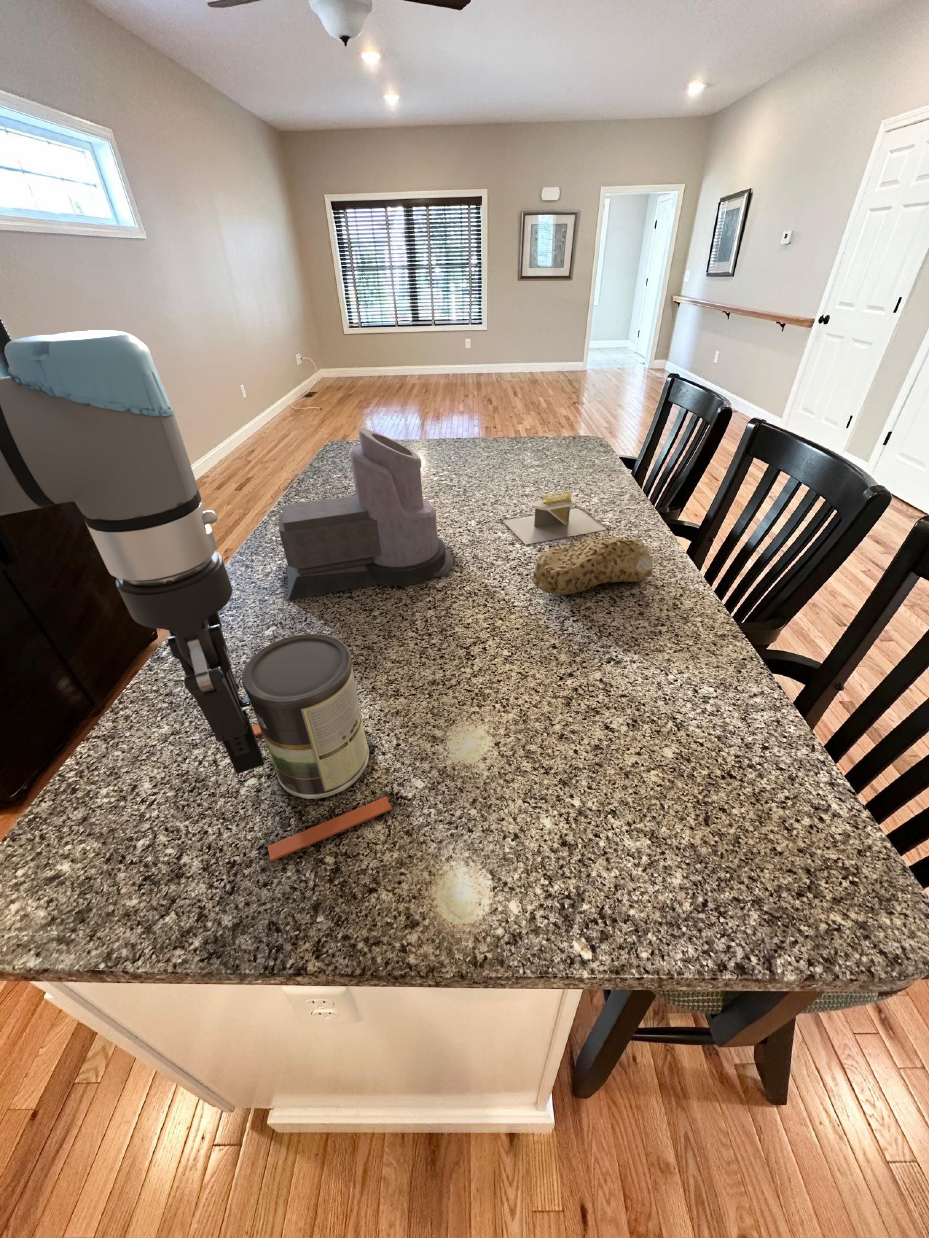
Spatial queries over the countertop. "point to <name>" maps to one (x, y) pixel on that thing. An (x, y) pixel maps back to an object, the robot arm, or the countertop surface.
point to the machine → (365, 527)
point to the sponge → (591, 565)
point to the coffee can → (308, 713)
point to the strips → (325, 825)
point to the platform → (553, 520)
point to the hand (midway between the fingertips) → (249, 763)
